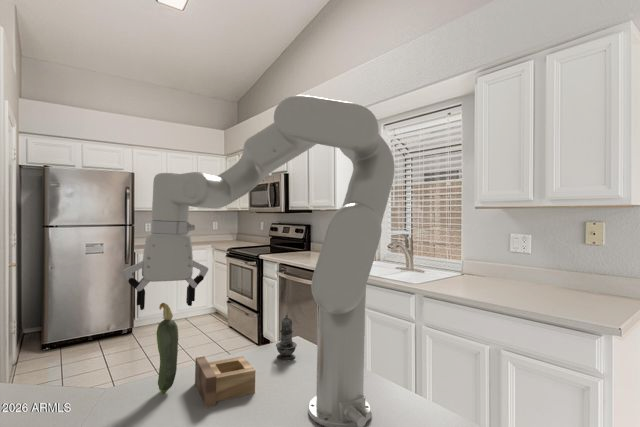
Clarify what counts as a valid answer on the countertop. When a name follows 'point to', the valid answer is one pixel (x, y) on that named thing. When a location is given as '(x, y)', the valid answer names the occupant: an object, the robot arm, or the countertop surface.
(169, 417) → the countertop surface
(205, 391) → the wall
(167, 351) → the vegetable
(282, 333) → the ornate incense burner
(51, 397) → the countertop surface
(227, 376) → the socket block
